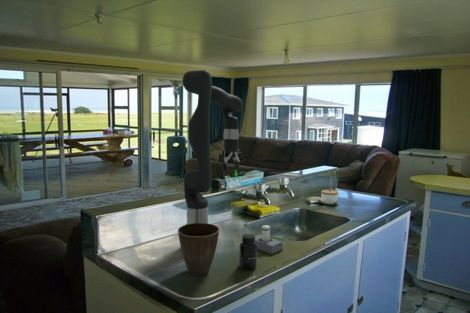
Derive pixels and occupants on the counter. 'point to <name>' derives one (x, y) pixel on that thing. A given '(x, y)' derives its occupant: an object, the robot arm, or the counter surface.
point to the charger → (265, 233)
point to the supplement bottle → (248, 252)
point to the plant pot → (198, 246)
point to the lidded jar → (329, 196)
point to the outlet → (268, 245)
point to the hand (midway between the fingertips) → (230, 170)
